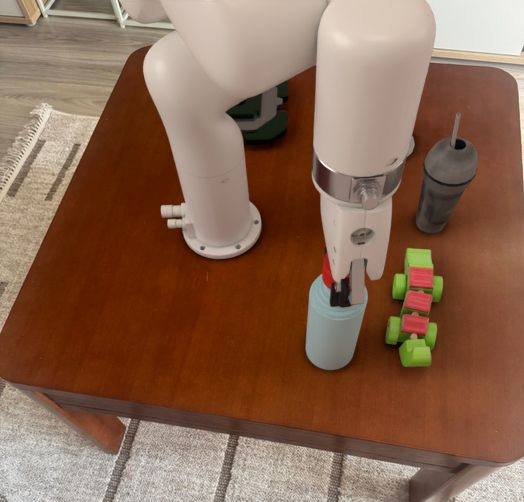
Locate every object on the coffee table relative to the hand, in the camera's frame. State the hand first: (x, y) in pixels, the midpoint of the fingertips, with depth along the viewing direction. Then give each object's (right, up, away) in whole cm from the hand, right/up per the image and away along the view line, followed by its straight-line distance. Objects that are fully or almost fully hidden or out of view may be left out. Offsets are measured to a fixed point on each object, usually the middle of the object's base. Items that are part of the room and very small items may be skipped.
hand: (340, 285), depth 59 cm
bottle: (+1, -7, +14) cm, 16 cm away
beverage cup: (+18, +13, +24) cm, 32 cm away
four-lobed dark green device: (-13, +35, +37) cm, 53 cm away
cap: (0, +1, -1) cm, 2 cm away
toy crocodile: (+13, -2, +16) cm, 21 cm away
